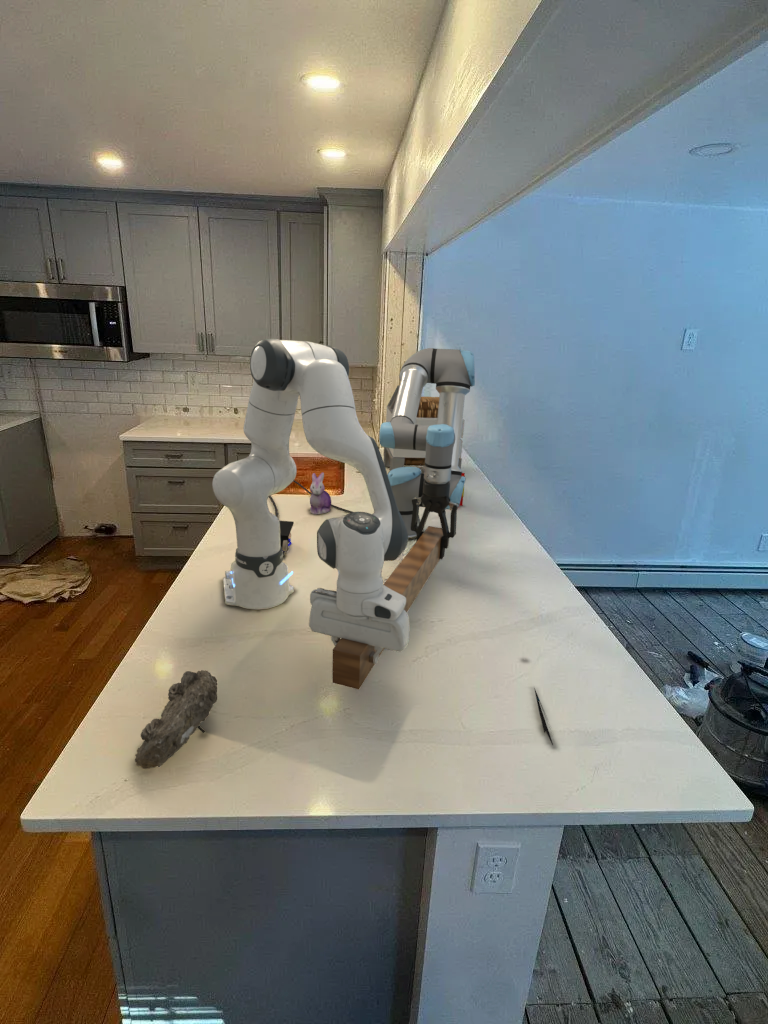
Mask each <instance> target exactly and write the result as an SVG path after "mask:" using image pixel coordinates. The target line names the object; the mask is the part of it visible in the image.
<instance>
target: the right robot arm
mask: <svg viewBox="0 0 768 1024" xmlns="http://www.w3.org/2000/svg"><path fill="white" fill-rule="evenodd" d="M475 370H476V369H475V355H474V353H473V352H472V351H471V350H464V349H461V348H459V349H457V348H456V349H455V348H454V349H453V348H433V347H427V348H423V349H420V350H418V351H416V352H414V353H413V354H412V355H410V356H409V357H408V358H407V359H406V360H405V362H403V364H402V367H401V368H400V371H399V375H398V376H399V377H398V378H399V381H400V383H399V385H400V386H399V390H398V394H397V397H396V401H395V405H394V409H393V412H392V416H391V420H390V422H386V421H384V422H382V423H381V424H380V427H379V434H378V441H379V445H380V446H381V447H382V448H384V447H387V448H392V449H407V450H419V451H426V455H425V466H423V467H424V468H423V470H424V471H423V472H422V469H421V468H420V467H417V466H404V467H400V468H396V469H393V470H391V471H390V470H389V472H387V475H388V478H389V482H390V485H391V488H392V491H393V495H394V498H395V501H396V504H397V507H398V510H399V512H400V514H401V517H402V519H403V521H404V524H405V526H406V529H407V534H408V541H410V540H415V543H416V542H417V540H418V539H419V538H420V537H421V535H422V534H423V533H424V528H425V525H426V523H427V520H428V518H429V515H430V513H435V514H437V516H438V518H439V522H440V528H442V532H443V537H442V538H441V545H440V558H439V559H440V561H441V560H443V559H444V557H445V555H446V554H445V553H446V549H448V548H449V547H450V545H449V544H450V539H453V538H454V537H455V536H456V535H457V519H458V510H459V508H460V506H459V505H460V501H461V496H462V492H463V488H464V489H465V483H466V476H465V477H464V476H462V473H463V471H462V468H461V469H460V468H459V467H458V461H459V451H460V441H461V440H462V438H461V430H462V420H463V419H464V408H465V398H466V396H467V395H468V394H469V393H470V392H471V387H474V386H475V385H476V376H475V373H476V371H475ZM427 384H433V385H435V391H437V392H438V394H439V396H438V397H439V406H438V417H437V425H431V426H429V425H416V424H415V422H416V417H417V412H418V408H419V403H420V399H421V397H422V395H423V389H424V387H426V385H427ZM292 483H294V484H296V485H298V486H299V487H300V488H301V489H303V490H304V491H306V492H307V494H309V495H310V496H311V495H312V493H311V491H310V490H309V489H307V488H306V487H304V486H303V485H302V484H301V483H299V482H298V481H297V480H295V479H294V481H293V482H292ZM331 508H334V509H338V510H340V511H342V512H343V511H344V512H347V513H348V514H349V513H352V512H353V511H352V510H349V509H346V508H343V507H339V506H337V505H334V504H333V503H331ZM420 508H424V510H423V513H422V516H421V518H420V515H419V514H420ZM446 510H449V511H450V516H449V517H450V521H449V523H448V519H447V514H446Z"/></svg>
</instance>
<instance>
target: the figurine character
mask: <svg viewBox="0 0 768 1024" xmlns="http://www.w3.org/2000/svg"><path fill="white" fill-rule="evenodd" d="M279 521H280V546H281V547H282V552H283V556H285V553H286V552H288V551H289V547H290V546H292V545H293V542H292V533H291V532H292V529H293V526H294V524H295V523H294V521H289V520H279Z"/></svg>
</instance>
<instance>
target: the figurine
mask: <svg viewBox="0 0 768 1024" xmlns="http://www.w3.org/2000/svg"><path fill="white" fill-rule="evenodd" d="M324 478H325V473H324V472H321V473H319V475H318V476H317V474H316V473H315V472H313V473H312V474H311V481H312V482H311V484H310V487H309V492H311V493H312V495H311V494H310V496H309V506H310V508H309V511H310V514H313V515H322V514H327V513H329V512H331V508H332V506H331V504H332V498H331V495H330V493H329V492H327V491H326V490H325V489H326V488H325V485H324V483H323V481H324Z"/></svg>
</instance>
